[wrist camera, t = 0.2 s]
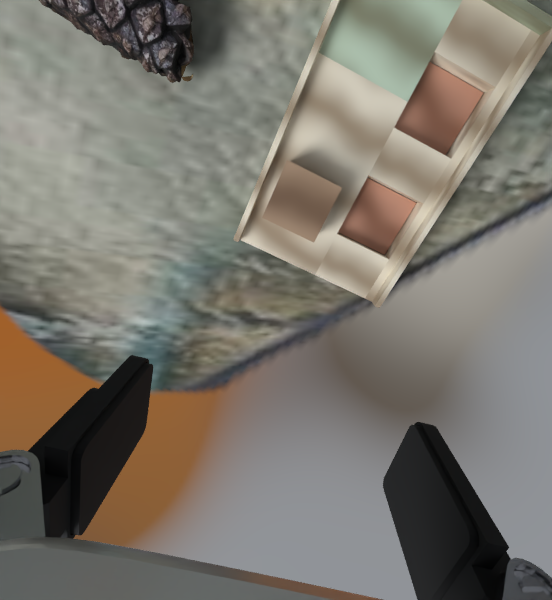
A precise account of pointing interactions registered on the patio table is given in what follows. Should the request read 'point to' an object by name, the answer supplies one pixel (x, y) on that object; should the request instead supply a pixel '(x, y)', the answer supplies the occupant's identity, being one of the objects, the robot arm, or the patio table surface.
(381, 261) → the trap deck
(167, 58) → the pine cone
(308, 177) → the walnut block
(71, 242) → the patio table surface
